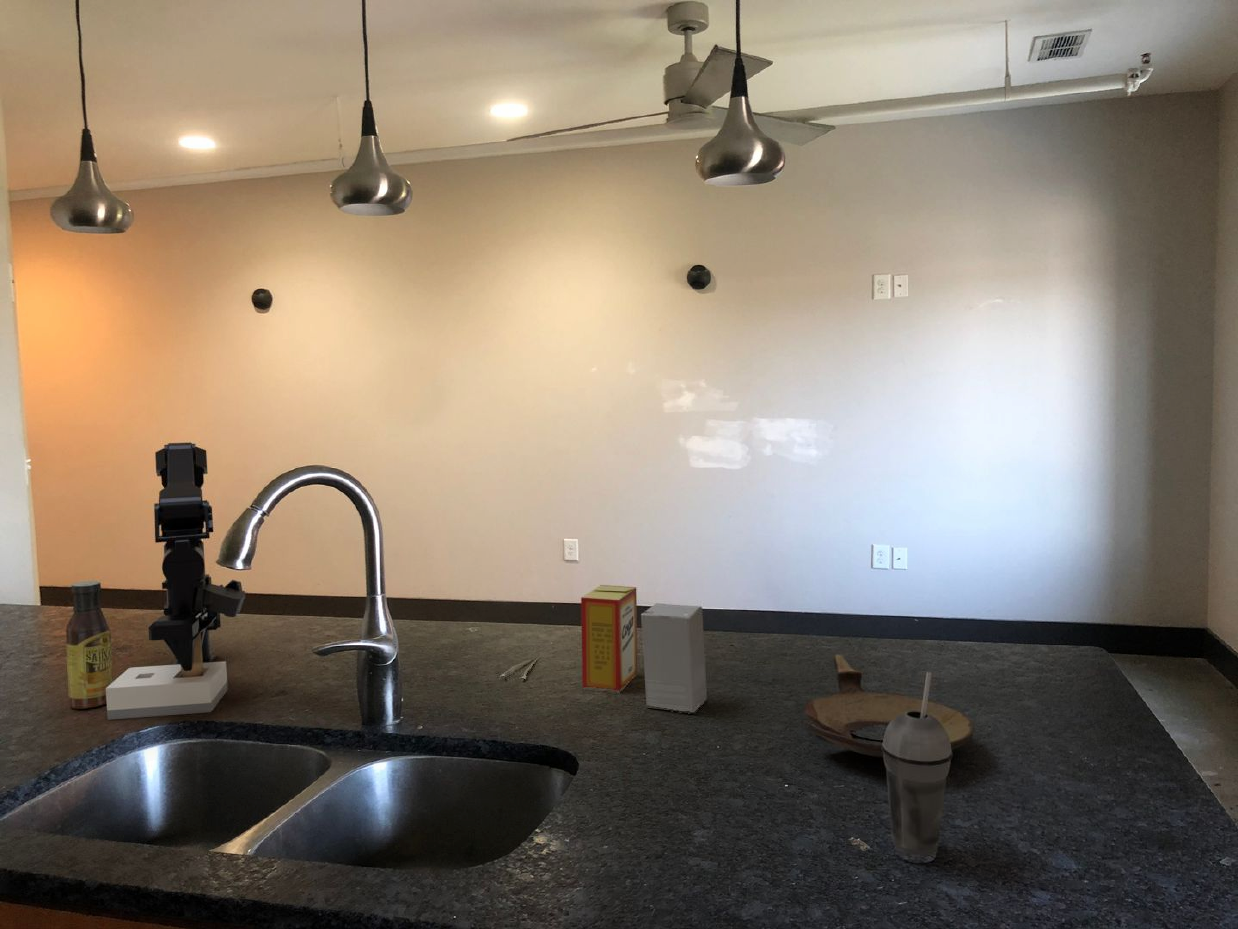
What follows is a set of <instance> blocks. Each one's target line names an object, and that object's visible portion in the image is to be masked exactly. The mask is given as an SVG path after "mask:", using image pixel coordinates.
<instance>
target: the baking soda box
mask: <svg viewBox="0 0 1238 929" xmlns="http://www.w3.org/2000/svg"><path fill="white" fill-rule="evenodd" d="M637 602H638V600H637V587H635V586H623V585H622V586H620V585H609V584H607V585H606V584H600V585H598V586H597V587H595V588H594V589H592V590H591V591H590V592H588V593H586V594H585V595H583V596H582V597H580V608H581V610H580V611H581V612H580V614H581V616H580V617H581V618H580V619H581V660H582V661H581V663H582V665H581V666H582V667H581V668H582V672H581V674H582V688H583V687H596V688H604V689H605V688H606V689H613V690H619V691H620V689H621V688H622V687H624V686H625V685H626V683H627V682H628V681H630V680H631V679H632V677H633V676H634V675H636V674H637V675H638V638H637V637H638V621H637V620H638V614H637V612H638V611H637V608H638V607H637V604H638V603H637Z"/></svg>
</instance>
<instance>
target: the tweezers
mask: <svg viewBox="0 0 1238 929" xmlns="http://www.w3.org/2000/svg"><path fill="white" fill-rule="evenodd" d="M530 660H531V659H529V660H527V661H523V662H521V663H518V664H516V665H514V666H511V668H509V669H508V670H506V671H505V672H504V673H502V674H501V675H500V676H499V678H500V677H501V676H505V675H507V674H509V673H511V672H513V671H514V670H515V669H517V668H518V667H520V666H521V665H523V664H525V663H526V662H529V661H530ZM536 660H537V659H535V660H534V661H532V662H531V664H530V665H529V667H527V668H526V670H525V671H524V673H523V676H522V677H520V678H524V679H525V680H526V679H527V676H526V673H527V672H528V671H529V670H530V669H531V667H532V666H533V664H534V662H536ZM536 663H537V662H536ZM533 667H534V666H533ZM533 667H532V668H533ZM531 670H532V669H531ZM531 670H530V671H531ZM530 671H529V672H530Z"/></svg>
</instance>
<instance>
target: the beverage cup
mask: <svg viewBox="0 0 1238 929" xmlns="http://www.w3.org/2000/svg"><path fill="white" fill-rule="evenodd" d="M931 679H932V672H929V671H926V675H925V684H924V687H923V688H924V689H923V695H922V696H923V697H922V700H923V702H922V709H921V711H907V712H904V713H902V714H899V715H898V716H897V717H895V718H894V719H893V720H892V721H891V722H890V723H889V725H888V726H887V728H886V731H885V734H884V738H883V742H881V744H882V746H881V749H882V750H883V757H882V758H883V763H884V767H885V769H886V770H885V771H886V783H887V786H886V787H887V798H888V811H889V813H888V814H889V824H890V825H889V826H890V837H891V842H893V844H894V846H896V848H898V849H899V850H901V851H903V852H907V853H910V854H914V855H920V856H922V855H923V856H925V855H927V856H928V855H931V854H933V853H935V852H936V851H937V852H938V846H939V844H940V834H941V827H942V818H943V817H942V816H943V812H944V811H943V810H944V801H945V793H946V786H947V785H946V784H947V776H948V775H949V771H950V767H951V760H952V759H953V749H952V750H951V743H950V739H949V736H948V734H947V732H946V730H945V728H944V727H943V726H942V725H941V723H940V722H939V721H938V720H937V719H936V718H934V717H932V716H931V715H929V714H927V713H926V709H927V702H928V701H929V695H930V686H931ZM893 844H892V845H893Z"/></svg>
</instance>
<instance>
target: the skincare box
mask: <svg viewBox="0 0 1238 929" xmlns="http://www.w3.org/2000/svg"><path fill="white" fill-rule="evenodd" d="M640 618H641V619H640V620H641V621H640V622H641V634H642V636H641V637H642V652H643V663H644V664H643V666H644V667H643V668H644V686H645V687H644V688H645V701H646V702H645V703H646V704H645V705H646V706H647V705H650V706H654V707H661V708H667V709H673V710H679V711H690V712H695V711H696V710H697V709H698V708H699V707H701V706H703V704H705V703H704V701H705V700H706V701H707V700H708V699H707V698H708V694H707V693H708V692H707V672H706V655H705V654H706V652H705V637H704V636H705V635H704V619H703V618H704V617H703V606H701V605H700V606H699V605H685V604H682V605H681V604H668V603H667V604H666V603H654V604H653V605H652V606H651V607H649V608H647V609H646V610H645V611H643V612H642V613H641V614H640ZM700 705H701V706H700ZM698 710H699V709H698ZM698 710H697V711H698ZM697 711H696V712H697ZM696 712H695V713H696Z"/></svg>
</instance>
